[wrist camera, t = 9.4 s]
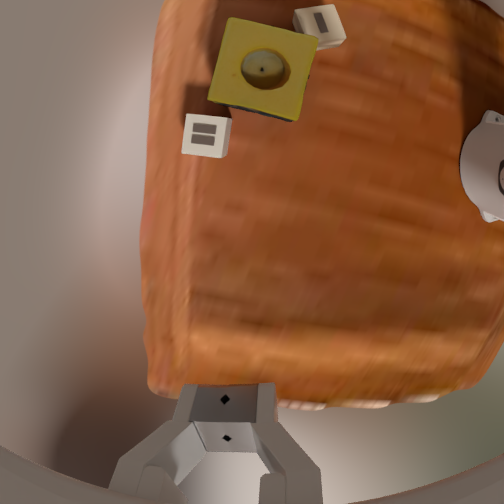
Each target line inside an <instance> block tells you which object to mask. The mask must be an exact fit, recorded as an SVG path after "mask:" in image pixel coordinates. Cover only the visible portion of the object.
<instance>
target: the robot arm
mask: <svg viewBox="0 0 504 504" xmlns="http://www.w3.org/2000/svg"><path fill="white" fill-rule="evenodd" d="M495 119H496V120H495ZM460 174H461V180H462V184H463V187H464V189H465V192H466V194H467V195H468V197H469V198H470V200H471V201H472V202H473V203H474V204H475V205H476V206H477V207H478V208H479V210H480V213H481V215H482V218H483V219H484V220H485V221H487V222H493V221H496V220H499V219H500V220H502V221H504V116H503V115H501V114H499V113H497V112H495V111H492V110H487V111H486V112H485V114H484V116H483V118H482V121H481V123H480V124H479V125H478V126H477V127H475V128H474V129H473V130H472V131H471V132H470V134H469V135H468V137H467V138H466V140H465V142H464V145H463V148H462V152H461V158H460ZM206 451H208V452H209V451H211V452H257V454H258V455H259V457H260V458H261V460H262V461H263V463H264V464H265V466H266V467H267V468H268V470H269V472H270V474H264V475H263V476H262V477H261V479H260V492H259V504H323V497H322V485H321V472H320V469H319V467H318V466H317V465H316V464H315V463H314V462H313V461H312V460H311V459H310V457H309V456H308V455H307V454H306V453H305V452H304V451H303V450H302V448H301V447H300V446H299V445H298V444H297V443H296V442H295V440H294V439H293V438H292V437H291V436H290V435H289V433H288V432H287V431H286V430H285V429H284V428H283V426H282V425H281V424H280V423H279V422H278V410H277V398H276V388H275V383H256V384H231V385H209V384H184V386H183V387H182V390H181V393H180V396H179V399H178V403H177V406H176V409H175V413H174V416H173V419H172V421H171V420H168V421H166V422H165V423H164V424H163V425H162V426H160V427H159V428H158V429H157V430H156V431H154V432H153V433H152V434H151V435H149V436H148V437H147V438H145V439H144V440H143V441H142V442H140V443H139V444H138V445H136V446H135V447H134V448H133V449H131V450H130V451H129V452H127V453H126V454H125V455H123V456H122V457H121V458H120V459H119V461H118V464H117V466H116V469H115V472H114V474H113V477H112V480H111V482H110V485H109V488H108V489H104V488H101V487H98V486H95V485H92V484H88V483H86V482H82V481H79V480H77V479H74V478H71V477H68V476H66V475H63V474H61V473H58V472H55V471H53V470H51V469H48V468H46V467H43V466H41V465H39V464H36V463H34V462H32V461H30V460H28V459H26V458H24V457H22V456H20V455H17V454H16V453H14V452H12V451H10V450H8V449H6V448H4V447H2V446H0V504H187V502H188V499H187V497H186V496H185V495H184V494H183V493H182V492H181V490H180V489H179V488H178V487H177V485H178V484H179V483H180V482H181V481H182V480H183V479H184V478H185V477H186V476H187V474H188V473H189V472H190V471H191V470H192V469H193V468H194V467H195V466H196V464H198V462H199V461H200V460H201V459H202V458H203V457H204V456H205V454H206V453H207V452H206ZM348 504H504V453H503V454H501V455H499V456H497V457H495V458H493V459H491V460H489V461H487V462H485V463H483V464H480V465H478V466H476V467H473V468H471V469H469V470H467V471H464V472H461V473H459V474H456V475H454V476H451V477H448V478H446V479H443V480H440V481H437V482H434V483H431V484H428V485H425V486H422V487H418V488H415V489H412V490H408V491H404V492H401V493H397V494H393V495H389V496H384V497H380V498H376V499H370V500H366V501H360V502H354V503H348Z"/></svg>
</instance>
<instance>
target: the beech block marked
mask: <svg viewBox="0 0 504 504" xmlns="http://www.w3.org/2000/svg"><path fill="white" fill-rule="evenodd" d="M292 23H293V26H294V28H295V31H296V33H302V34H307V35H312V36H315V37H317V38H318V39H319V41H318V46H317V49H316V50H322V49H328V48H334V47H339V46H340V44H341V43H342V42H343V41H344V40H345V39H346V38H347V37H346V35H345V32H344V29H343V27H342V24H341V21H340V19H339V16H338V14H337V11H336V9H335V6H334V4H331V5H323V6H315V7H308V8H302V9H296V10H295V11H294V16H293V20H292Z"/></svg>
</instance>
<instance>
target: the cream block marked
mask: <svg viewBox="0 0 504 504" xmlns="http://www.w3.org/2000/svg"><path fill="white" fill-rule="evenodd" d="M231 124H232V119H231V118H226V117H217V116H208V115H197V114H186V121H185V128H184V136H183V144H182V153H183V154H192V155H200V156H208V157H216V158H222V157H224V156H226V155H227V151H228V144H229V137H230V131H231Z"/></svg>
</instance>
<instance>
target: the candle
mask: <svg viewBox="0 0 504 504" xmlns="http://www.w3.org/2000/svg"><path fill="white" fill-rule="evenodd" d="M318 41H319V39H318V38H317V37H315V36H312V35H307V34H302V33H295V32H292V31H289V30H286V29H282V28H277V27H274V26H269V25H265V24H261V23H257V22H253V21H249V20H244V19H240V18H235V17H229V18H228V20H227V23H226V27H225V31H224V35H223V39H222V43H221V47H220V51H219V55H218V59H217V63H216V66H215V70H214V74H213V78H212V82H211V85H210V88H209V92H208V98H207V100H210V101H213V102H215V103H217V104H220V105H223V106H228V107H232V108H236V109H242V110H246V111H248V112H249V111H250V112H254V113H258V114H261V115H264V116H268V117H274V118H277V119H282V120H284V121H287V122H292V121H297V120H298V118H299V114H300V111H301V106H302V101H303V95H304V91H305V89H306V84H307V80H308V79H309V76H310V75H309V72H310V68H311V64H312V61H313V58H314V55H315V52H316V49H317V46H318Z"/></svg>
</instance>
